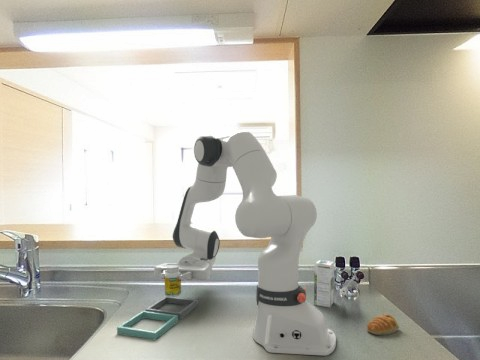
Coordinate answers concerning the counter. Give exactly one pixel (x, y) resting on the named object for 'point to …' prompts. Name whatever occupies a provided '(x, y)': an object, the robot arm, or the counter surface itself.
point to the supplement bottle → (172, 281)
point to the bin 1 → (145, 333)
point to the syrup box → (324, 283)
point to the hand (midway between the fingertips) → (171, 277)
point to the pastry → (383, 325)
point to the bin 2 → (181, 314)
